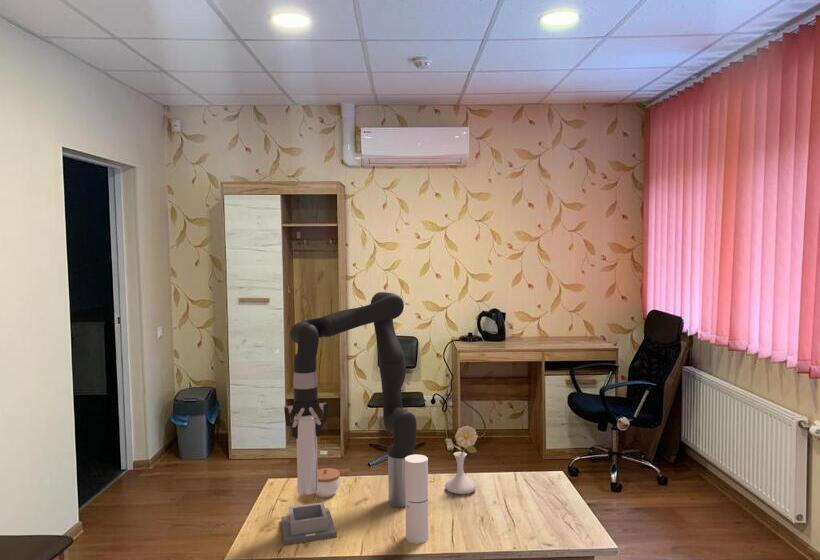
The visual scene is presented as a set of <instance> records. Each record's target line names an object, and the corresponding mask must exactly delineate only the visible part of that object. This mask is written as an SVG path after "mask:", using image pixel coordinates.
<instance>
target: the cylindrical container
mask: <svg viewBox="0 0 820 560" xmlns="http://www.w3.org/2000/svg"><path fill="white" fill-rule="evenodd" d="M404 508H405V540H406V541H407V542H409V543H411V544H423V543H426V542H428V540H429V539H430V536H429V535H430V531H429V529H430V528H429V527H430V526H429V524H430V523H429V515H430V514H429V457H427V455H423V454H414V455H409V456H407V457H405V507H404Z"/></svg>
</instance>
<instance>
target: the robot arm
mask: <svg viewBox="0 0 820 560" xmlns="http://www.w3.org/2000/svg"><path fill="white" fill-rule="evenodd" d="M404 308H405V302H404V300H403V299H402V297H401V296H400V295H398V294H396V293H394V292H393V293H392V292H387V291H386V292H385V291H380V292H376V293H374V295H373V296H372V298H371V300H370V303H368V304H366V305H364V306H363V305H362V306H359V307H353V308H346V309H342V310H340V311H335V312H332V313H329V314H327V315H324V316H320V317H316V318H312V319H307V320H302V321H300V322H297V323H296V324H294V325H293V326H292V327H291V329H290V332H289V335H290V338H291V340H292V341H293V342H294V343H295V344H297V353H296V354H294V356H293V377H292V378H293V379H292V381H293V403H292V405H284V406H283V409H284V411H283V412H284V417H285V423H286V426H287V427H291V436H292V437H293V438H294V439H295V440H297V426H296V425H297V421H298V419H299V418H298V417H301V416H307V415H312V416H314V418H316V423H317V437H320V435H321V434H322V424H323V423H326V422H327V421H328V420H327V418H328V407H329V406H328V403H327V402H325V401H324V402H319V400H318V399H319V398H318V383H319V382H318V374H317V354H318V348H319V342H320V338H329V337H333V336H336V335H339V334H342V333H344V332H347V331H350V330H353V329H357V328H358V327H362V326H365V325H368V324H372V323H373V326H374V332H375V339H376V348H377V354H378V365H379V373H380V374H379V375H380V380H381V381H380V383H381V391H382V409H383V410H382V411H383V413H382V414H383V425H384V428H385V429H386V430H387V431H388V432H389V433H391V434H393V443H392V444H391V443H390V445H388V448H387V462H388V463H387V467H388V468H387V469H388V470H387V472H388V474H387V475H388V476H387V478H388V479H387V481H388V504H389V505H390V506H393V507H396V508H405V457H407V456H409V455H415V448H416V445H417V432H418V431H417V428H418V426H417V420H416V416H415V415H414V413H412V412H411V411H408V410H407V409H404V407H403V401H402V388H403V385H404V383H405V379H406V374H407V368H406V358H405V353H404V350H403V347H402V345H401V343H400V340H399V338H398V337H397V334H396V331H395V326H394V319H396V318H399V317H400V316H401V315H402V314H403V312H404ZM319 408H320V409H321V411H322V412H321V413H322V415H321V418H319V416H318V414H317V413H316V412H317V411H318V409H319ZM292 411H294V412H295V415H294V417H293V419H292V421H291V420H290V414H291V412H292Z"/></svg>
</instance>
